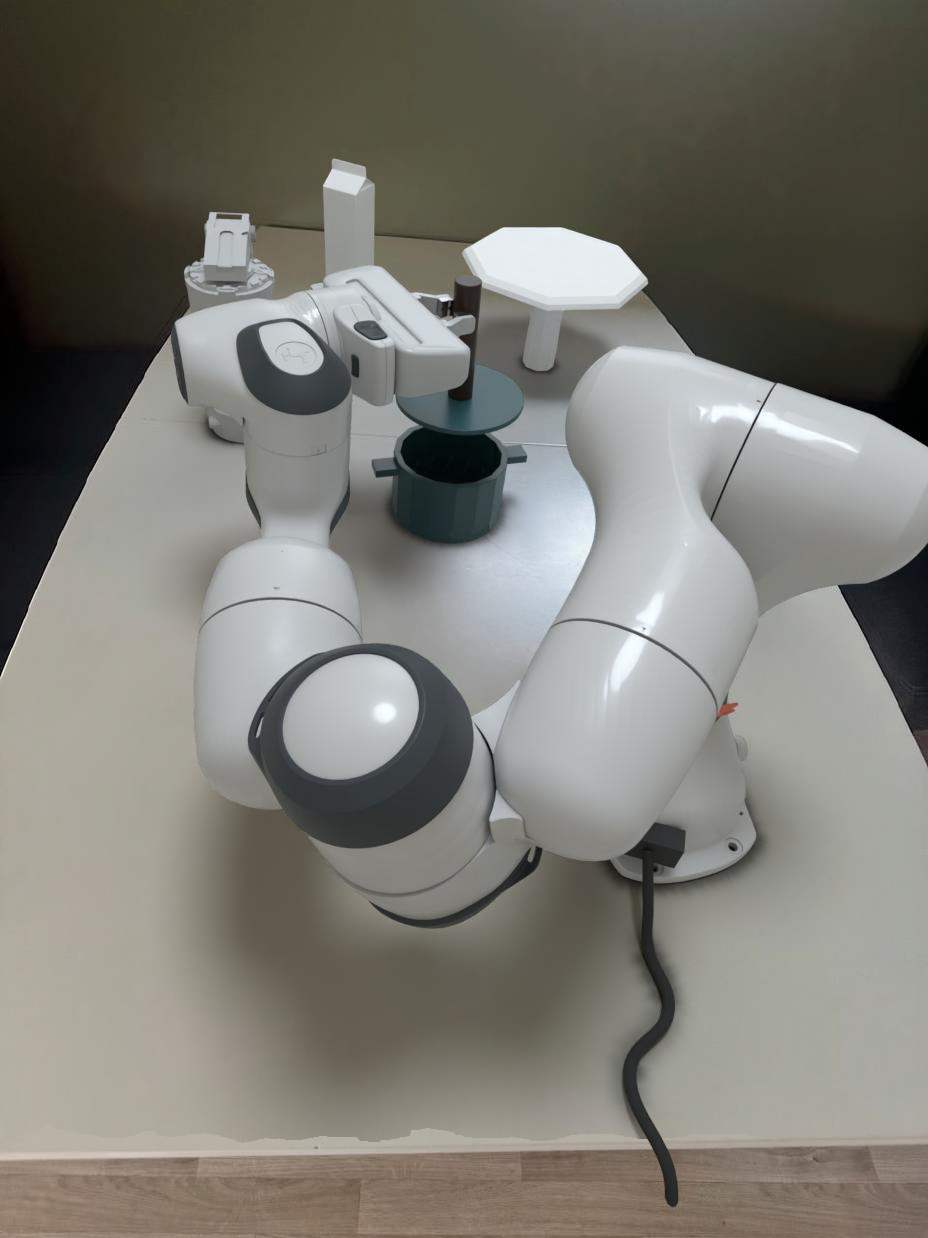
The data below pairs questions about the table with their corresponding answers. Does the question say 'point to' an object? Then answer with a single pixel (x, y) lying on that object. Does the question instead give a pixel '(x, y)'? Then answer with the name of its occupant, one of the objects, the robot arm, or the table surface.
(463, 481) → the pot
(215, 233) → the lantern
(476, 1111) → the table surface
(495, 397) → the lid
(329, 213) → the milk
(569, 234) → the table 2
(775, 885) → the table surface
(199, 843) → the table surface
